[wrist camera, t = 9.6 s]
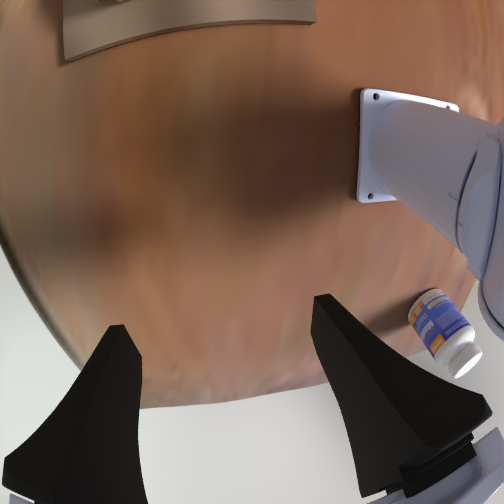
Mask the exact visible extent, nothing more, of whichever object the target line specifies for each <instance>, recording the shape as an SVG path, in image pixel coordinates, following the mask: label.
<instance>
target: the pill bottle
mask: <svg viewBox="0 0 504 504" xmlns="http://www.w3.org/2000/svg"><path fill="white" fill-rule="evenodd" d="M408 320H409V322H410V324H411V325H412V326H413V328H414V329H415V331H416V332H417V334H418V335H419V337H420V338H421V340H422V341H423V343H424V344H425V346H426V347H427V349H428V350H429V352H430V353H431V355H432V357H433V358H434V359H435V361H436V363H437V364H438V365H441V366H445V365H449V372H450V373H451V374H452V376H453V377H454V378H455V379H456V378H458V377H460V376H462V375H463V374H465V373H466V372H467V371H469V370H470V369H471V368H472V367H473V366H474V365H475V364H476V363H477V362H478V360H479V359H480V358H481V356H482V351H481V349H480V348H479V346H478V345H477V344H473V340H474V337H475V332H474V329H473V328H472V327H471V325H470V324H469V322H468V321H467V320H466V319H465V317H464V316H463V315H462V314H461V312H460V311H459V310H458V309H457V308H456V306H455V305H454V304H453V303H452V302H451V300H450V299H449V298H448V297H447V296H446V294H445V293H444V292H443V291H442V290H440V289H431V290H429V291H427V292H425V293H424V294H422V295H421V296H420V297H419V298H418V299H417V300H416V301H415V303H414V304H413V305H412V307H411V309H410V311H409V314H408Z"/></svg>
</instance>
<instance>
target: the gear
mask: <svg viewBox="0 0 504 504" xmlns="http://www.w3.org/2000/svg"><path fill="white" fill-rule="evenodd" d="M86 1H88V2H89V3H97V4H103V2H104V1H105V0H86ZM117 1H118V2H122V1H125V0H117Z"/></svg>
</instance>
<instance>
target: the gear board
mask: <svg viewBox="0 0 504 504" xmlns="http://www.w3.org/2000/svg"><path fill="white" fill-rule="evenodd" d="M315 22H317V21H316V11H315V2H314V0H125V1H122V2H118V1H117V0H105V1H104V2H103V4H97V3H89V2H88V1H86V0H63V42H64V57H65V60H66V61H74V60H76V59H79V58H81V57H84V56H86V55H89V54H92V53H95V52H98V51H100V50H103V49H106V48H110V47H113V46H116V45H119V44H123V43H126V42H130V41H133V40H137V39H141V38H145V37H150V36H154V35H159V34H164V33H169V32H174V31H180V30H186V29H193V28H200V27H208V26H218V25H230V24H249V23H286V24H304V25H311V24H313V23H315Z"/></svg>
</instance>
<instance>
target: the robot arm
mask: <svg viewBox="0 0 504 504" xmlns="http://www.w3.org/2000/svg"><path fill="white" fill-rule="evenodd" d="M374 93H375V94H376V99H375V100H374V99H373V94H374ZM446 107H447V108H446ZM369 193H371V196H370V197H368V194H369ZM356 197H357V200H358V201H360V202H361V203H370V202H380V201H391V200H399V201H400V202H402V203H403V204H404V205H406V206H407V207H408V208H410V209H411V210H412V211H413V212H415V213H416V214H417V215H419V216H420V217H421V218H422V219H424V220H425V221H426V222H427V223H429V224H430V225H431V226H432V227H433V228H435V229H436V230H437V231H438V232H439V233H440V234H442V235H443V236H444V237H445V238H446V239H447V240H449V241H450V242H451V243H452V244H453V245H454V246H455V247H456V248H458V249H459V250H460V251H461V252H462V253H463V254H464V255H465V256H466V257H467V261H468V265H467V269H468V270H469V271H470V272H471V273H472V274H473V275H474V276H475V277H476V278H477V279H478V280H479V281H480V282H479V286H478V302H479V307H480V310H481V313H482V315H483V318H484V319H485V321H486V323H487V325H488V326H489V327H490V329H491V330H492V331H493V332H494V334H496V335H497V336H498V337H499V338H500V339H501V340H503V341H504V117H503V118H502V119H501V120H500V121H499V123H498V125H496V124H494V123H491V122H488V121H485V120H482V119H479V118H477V117H473V116H470V115H467V114H464V113H461V112H459V108H458V106H457V105H456V104H452V103H448V102H444V101H440V100H436V99H431V98H426V97H421V96H416V95H411V94H405V93H399V92H392V91H385V90H377V89H369V88H365V89H363V90H362V91H361V94H360V148H359V167H358V181H357V194H356ZM311 336H312V339H313V342H314V346H315V349H316V352H317V355H318V358H319V360H320V362H321V365H322V367H323V369H324V371H325V374H326V376H327V378H328V381H329V383H330V385H331V387H332V390H333V392H334V394H335V397H336V399H337V401H338V404H339V407H340V409H341V413H342V416H343V419H344V423H345V426H346V430H347V433H348V437H349V441H350V445H351V449H352V453H353V458H354V463H355V467H356V473H357V479H358V485H359V491H360V494H361V497H362V498H364V497H367V496H370V495H373V494H375V493H378V492H381V491H383V490H386V493H387V495H386V496H384V497H382V498H380V499H377V500H375V501H373V502H370V503H367V504H484V503H485V501H487V500H488V499H489V498H490V497H491V496H492V495H493V494H494V493H495V492H496V491H497V490H498V489H499V488H500V487H501V486H502V485H503V484H504V439H503V437H502V435H501V433H500V431H499V429H498V427H496V428H494V429H493V430H492V431H490V432H489V433H488V434H487V435H485V436H484V437H483V438H481V439H480V440H479V441H477V442H476V443H474V444H472V443H471V441H472V440H473V439H474V437H473V434H472V431H473V430H474V429H476V428H477V427H478V426H480V425H481V424H482V423H483V422H485V421H486V420H487V419H488V418H489V417H491V416H492V410H491V409H490V407H489V405H488V403H487V402H486V400H485V399H484V397H483V395H482V394H478V393H476V392H473V391H470V390H467V389H464V388H461V387H458V386H456V385H454V384H452V383H449V382H447V381H445V380H443V379H441V378H439V377H437V376H435V375H433V374H431V373H429V372H428V371H426V370H424V369H422V368H420V367H419V366H417V365H415V364H414V363H412V362H410V361H409V360H407V359H406V358H404V357H403V356H402V355H400V354H399V353H397V352H396V351H395V350H393V349H392V348H391V347H389V346H388V345H387V344H385V343H384V342H383V341H382V340H380V339H379V338H378V337H377V336H376V335H374V334H373V333H372V332H371V331H370V330H369V329H367V328H366V327H365V326H364V325H363V324H362V323H361V322H359V321H358V320H357V319H356V318H355V317H354V316H353V315H352V314H351V313H350V312H349V311H348V310H347V309H346V308H344V307H343V306H342V305H341V304H340V303H339V302H338V301H337V300H336V299H335V298H334V297H333V296H332V295H331V294H324V295H319V296H314V304H313V314H312V323H311ZM141 387H142V356H141V354H140V353H139V351H138V349H137V348H136V346H135V344H134V342H133V341H132V339H131V337H130V335H129V334H128V332H127V330H126V328H125V326H124V324H123V325H112V326H109V328H108V329H107V331H106V332H105V334H104V335H103V337H102V339H101V340H100V342H99V343H98V345H97V347H96V348H95V350H94V352H93V353H92V355H91V357H90V358H89V360H88V361H87V363H86V365H85V366H84V368H83V370H82V371H81V373H80V374H79V376H78V377H77V379H76V380H75V382H74V383H73V385H72V387H71V388H70V390H69V391H68V392H67V394H66V395H65V397H64V398H63V399H62V401H61V402H60V403H59V405H58V406H57V407H56V408H55V410H54V411H53V412H52V413H51V415H50V416H49V417H48V418H47V419H46V420H45V421H44V422H43V424H42V425H41V426H40V427H39V428H38V429H37V430H36V431H35V432H34V433H33V434H32V435H31V436H30V437H29V438H28V439H27V440H26V441H25V442H24V443H23V444H21V445H20V446H19V447H18V448H17V449H15V450H14V451H13V452H12V453H10V454H9V455H8V456H6V457H5V460H4V468H3V477H2V485H3V486H4V487H6V488H8V489H10V490H11V491H14V492H16V493H18V494H20V495H22V496H24V497H27V498H29V499H31V500H34V503H32V502H29V501H27V500H25V499H23V498H20V497H18V496H16V495H13V494H10V502H9V504H148V501H147V498H146V494H145V489H144V484H143V479H142V473H141V465H140V457H139V445H138V421H139V409H140V398H141Z"/></svg>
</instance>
